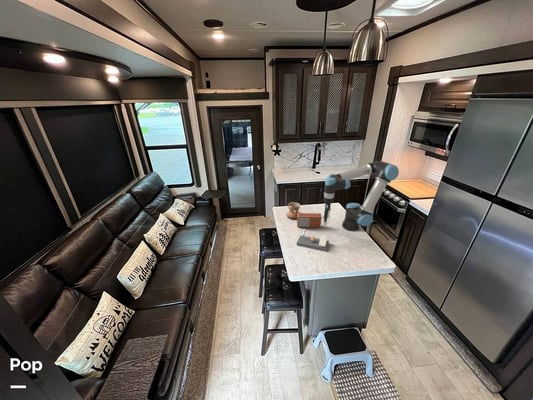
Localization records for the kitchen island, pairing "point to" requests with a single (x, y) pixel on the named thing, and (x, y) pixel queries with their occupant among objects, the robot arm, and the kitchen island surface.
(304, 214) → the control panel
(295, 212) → the ceramic jug
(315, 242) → the switch panel
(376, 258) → the kitchen island surface
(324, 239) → the rocker switch
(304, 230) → the toggle lever
